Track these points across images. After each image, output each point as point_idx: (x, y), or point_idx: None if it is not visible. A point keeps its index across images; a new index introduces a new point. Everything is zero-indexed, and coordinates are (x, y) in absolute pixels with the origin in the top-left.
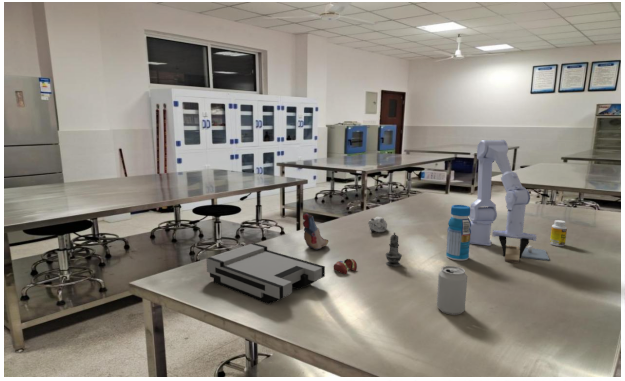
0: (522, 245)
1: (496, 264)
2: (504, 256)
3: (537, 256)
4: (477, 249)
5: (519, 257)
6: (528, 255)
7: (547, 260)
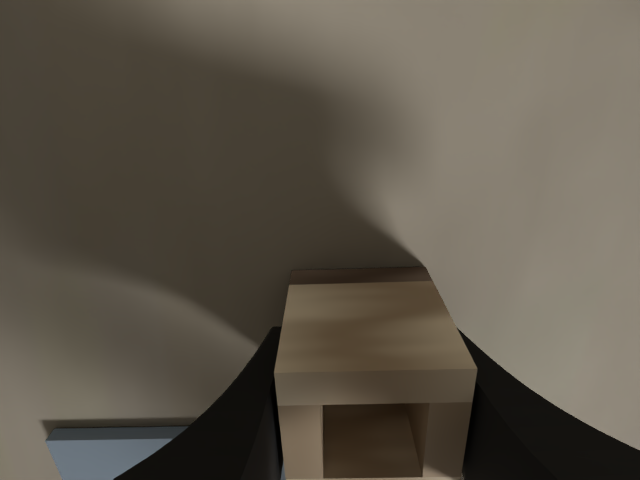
0: (228, 447)
1: (539, 119)
2: None
3: None
4: None
5: None
6: None
7: (66, 429)
